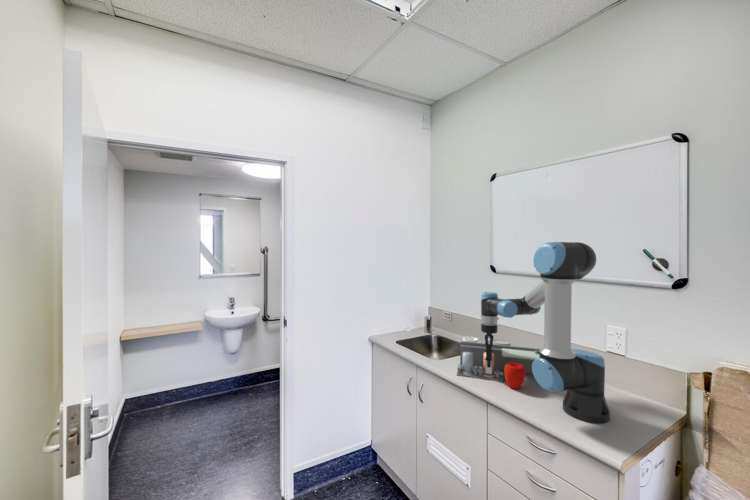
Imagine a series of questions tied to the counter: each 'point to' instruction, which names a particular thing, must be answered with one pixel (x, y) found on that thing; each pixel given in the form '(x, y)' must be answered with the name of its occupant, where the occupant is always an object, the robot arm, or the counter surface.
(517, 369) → the apple
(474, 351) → the housing
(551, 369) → the robot arm
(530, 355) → the lid
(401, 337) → the counter surface
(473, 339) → the cup
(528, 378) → the counter surface
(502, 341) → the disposable coffee cup
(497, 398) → the counter surface
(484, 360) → the peg
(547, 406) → the counter surface
